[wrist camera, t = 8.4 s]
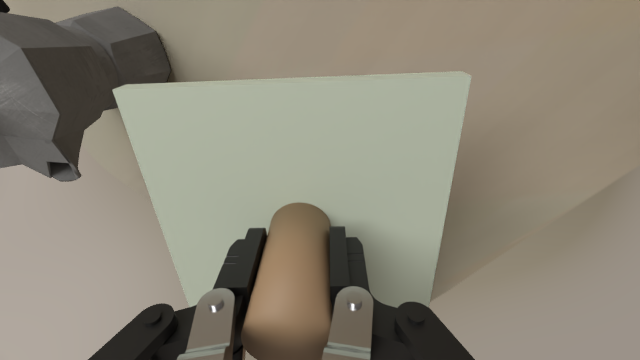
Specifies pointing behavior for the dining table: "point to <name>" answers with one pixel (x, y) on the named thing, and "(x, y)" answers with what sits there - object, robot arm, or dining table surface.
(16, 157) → the coffeepot
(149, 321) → the robot arm
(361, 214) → the lid
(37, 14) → the dining table surface
